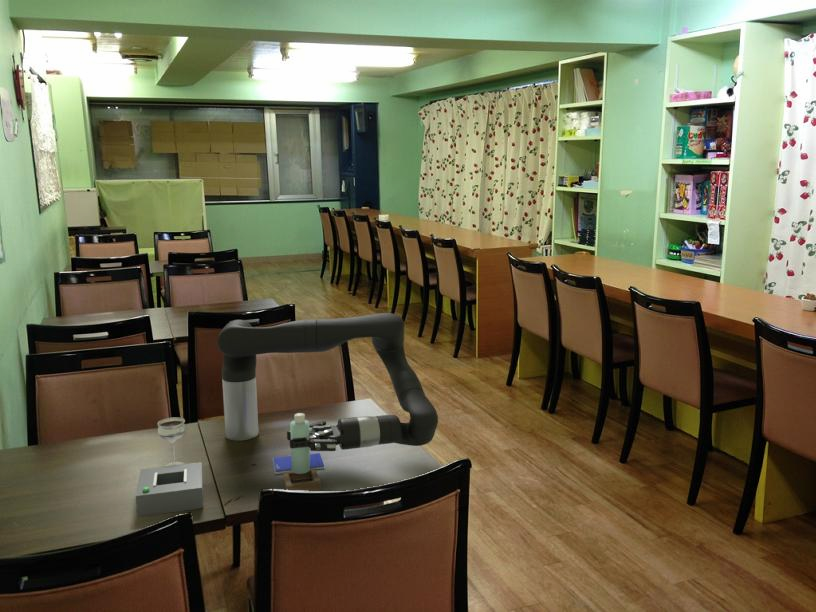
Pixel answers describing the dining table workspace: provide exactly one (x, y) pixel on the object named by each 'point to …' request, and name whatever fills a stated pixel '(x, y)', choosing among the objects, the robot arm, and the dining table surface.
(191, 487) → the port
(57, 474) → the dining table surface
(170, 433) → the wineglass
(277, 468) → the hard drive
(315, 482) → the box
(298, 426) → the mint green bottle
